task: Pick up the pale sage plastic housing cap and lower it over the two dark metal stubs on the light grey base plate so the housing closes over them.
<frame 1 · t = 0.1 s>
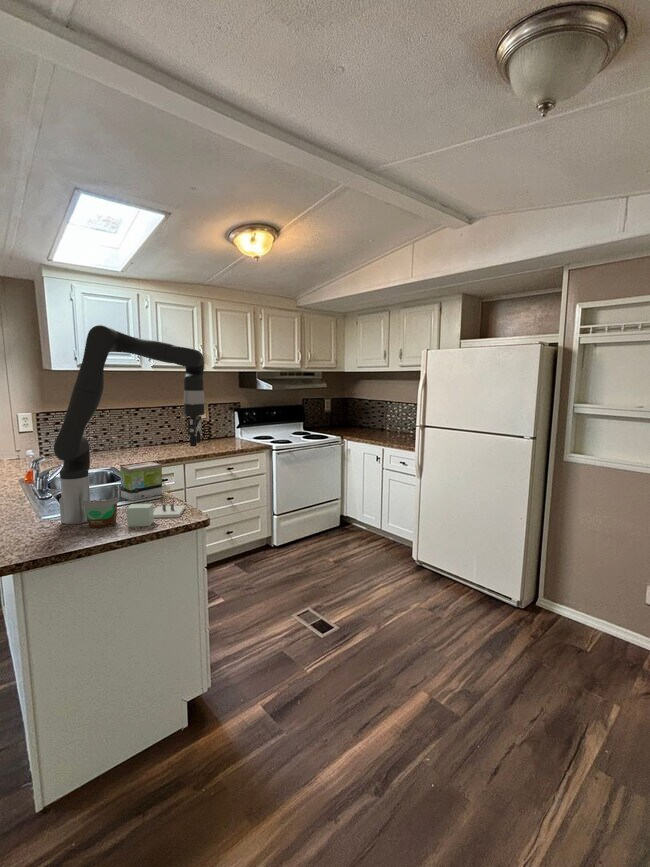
hand: (195, 444, 159), 29 cm above the counter, tool pointing down, fingers open, 8 cm apart
stub plate: (168, 512, 167), on the counter
food container: (100, 526, 152), on the counter
housing: (140, 523, 154), on the counter
tea box: (142, 496, 190), on the counter
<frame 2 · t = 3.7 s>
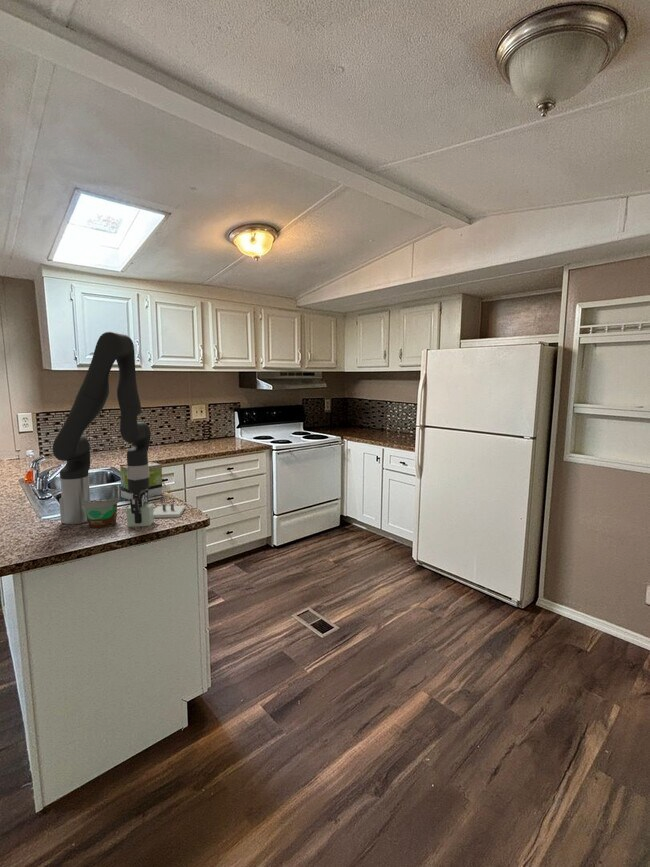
hand: (140, 520, 154), 1 cm above the counter, tool pointing down, fingers closed on housing, 5 cm apart
housing: (140, 523, 154), on the counter, touching gripper
everything else where it was.
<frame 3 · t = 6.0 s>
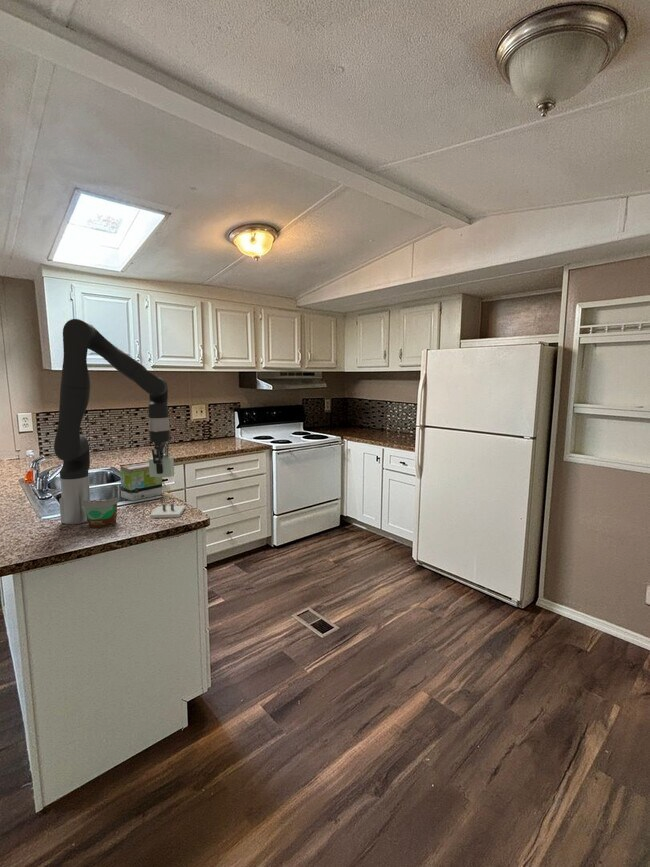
hand: (162, 471, 161), 18 cm above the counter, tool pointing down, fingers closed on housing, 5 cm apart
housing: (162, 475, 162), point 16 cm above the counter, touching gripper
everything else where it was.
when the fingers open (4 cm above the counter, at t = 8.7 s): housing drops 1 cm, resting on stub plate.
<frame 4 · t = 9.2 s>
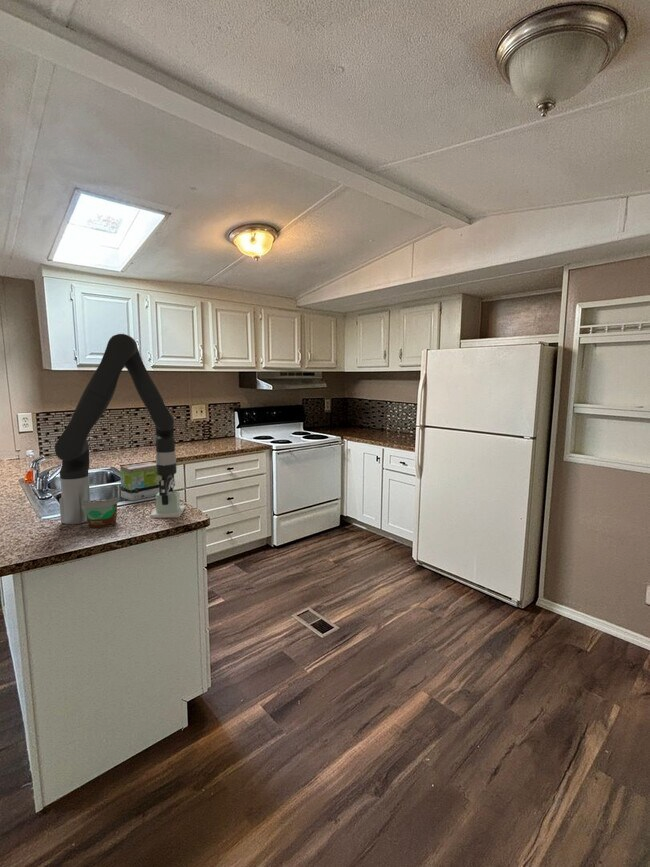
hand: (167, 501, 166), 5 cm above the counter, tool pointing down, fingers open, 8 cm apart
housing: (168, 510, 167), point 1 cm above the counter, touching stub plate
everything else where it was.
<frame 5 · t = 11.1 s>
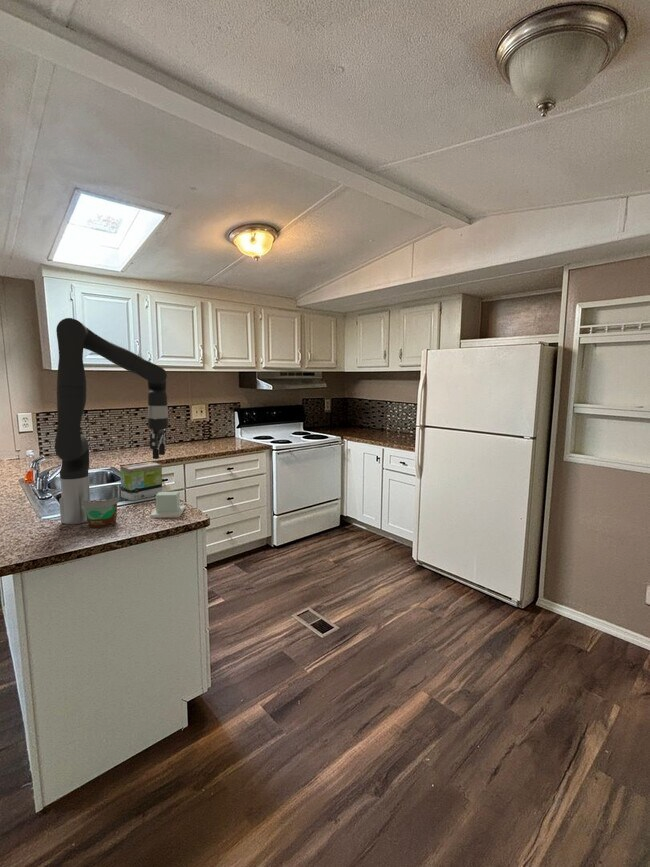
hand: (159, 456, 166), 23 cm above the counter, tool pointing down, fingers open, 8 cm apart
nothing on the counter moved.
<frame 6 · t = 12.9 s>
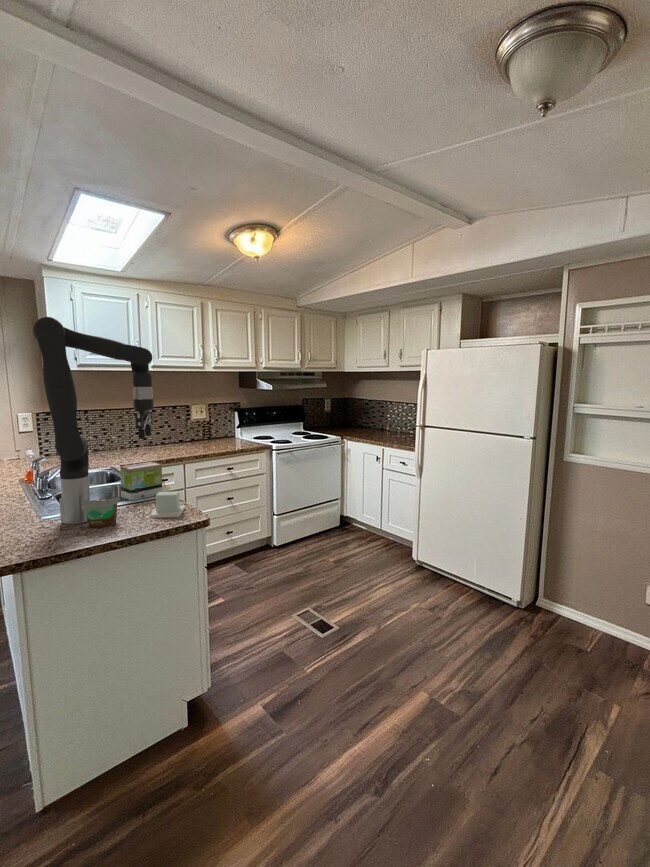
hand: (145, 437, 169), 30 cm above the counter, tool pointing down, fingers open, 8 cm apart
nothing on the counter moved.
at the end: housing 0.1 cm off-centre on the stub plate, point 1.2 cm above the stub plate's base; housing tilted 0°; the gripper is holding nothing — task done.
